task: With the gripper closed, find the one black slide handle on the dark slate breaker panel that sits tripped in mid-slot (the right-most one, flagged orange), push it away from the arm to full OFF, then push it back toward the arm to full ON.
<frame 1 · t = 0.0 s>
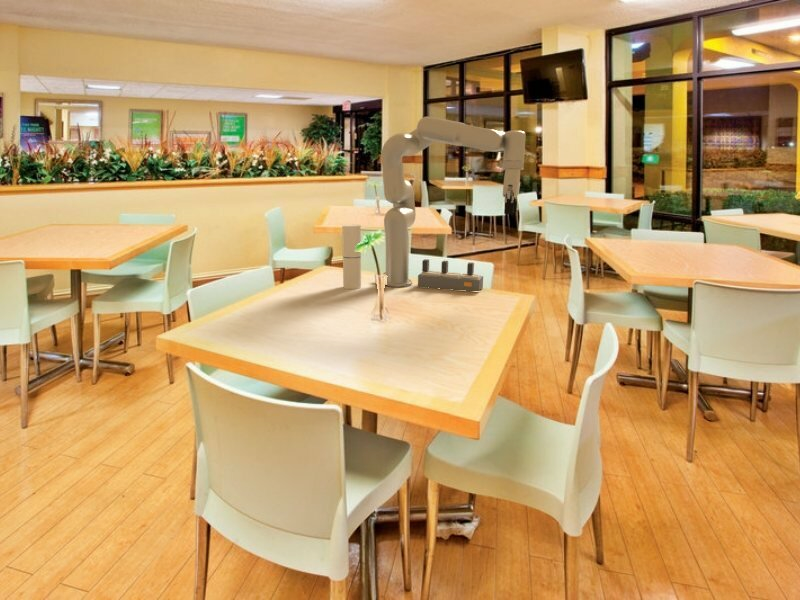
hand: (510, 212, 205), 31 cm above the table, fingers open, 9 cm apart
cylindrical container: (352, 287, 220), on the table
tripped breaker: (470, 268, 216), point 9 cm above the table, slide at 0.0 cm
breaker panel: (450, 287, 221), on the table
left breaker: (425, 265, 222), point 9 cm above the table, slide at -2.5 cm
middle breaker: (444, 266, 219), point 9 cm above the table, slide at -2.5 cm
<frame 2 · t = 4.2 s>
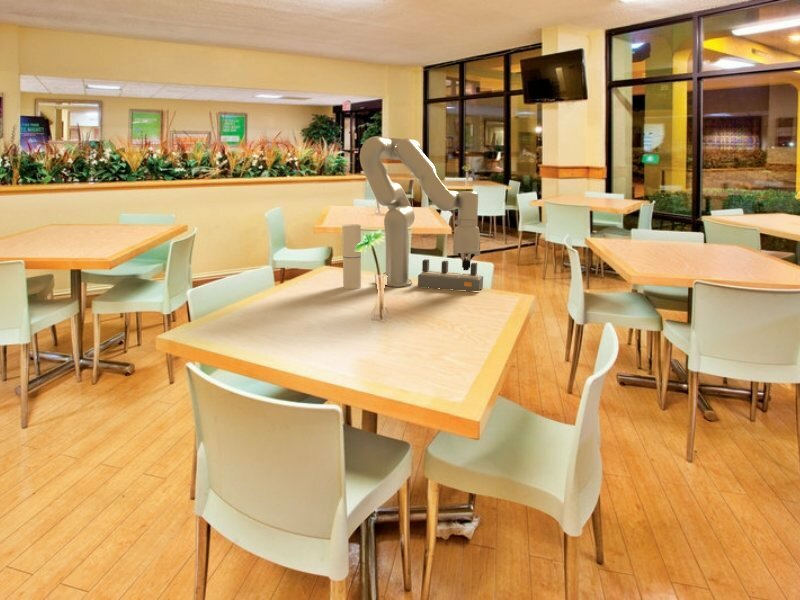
hand: (466, 269, 217), 8 cm above the table, fingers closed
tripped breaker: (473, 268, 216), point 9 cm above the table, slide at 1.3 cm, touching gripper
everything else where it was.
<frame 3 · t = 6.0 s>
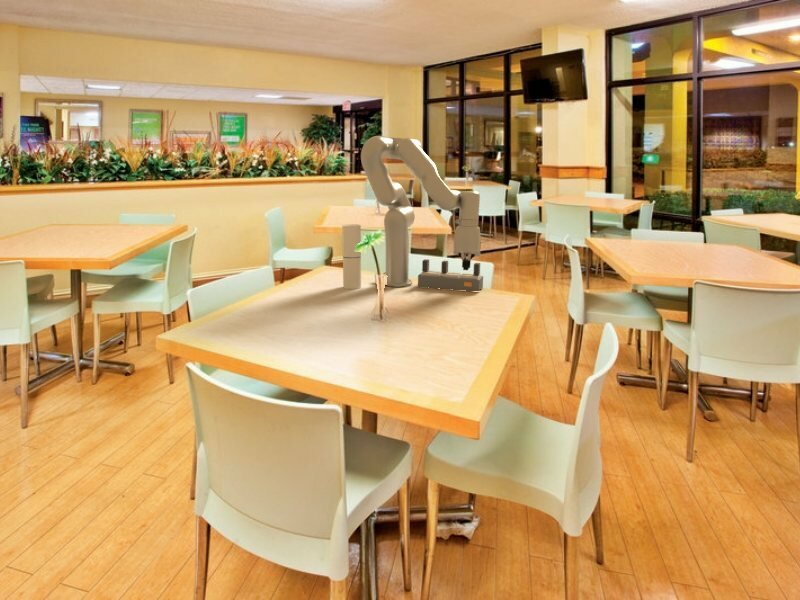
hand: (465, 269, 217), 8 cm above the table, fingers closed
tripped breaker: (476, 269, 215), point 9 cm above the table, slide at 2.6 cm
everything else where it was.
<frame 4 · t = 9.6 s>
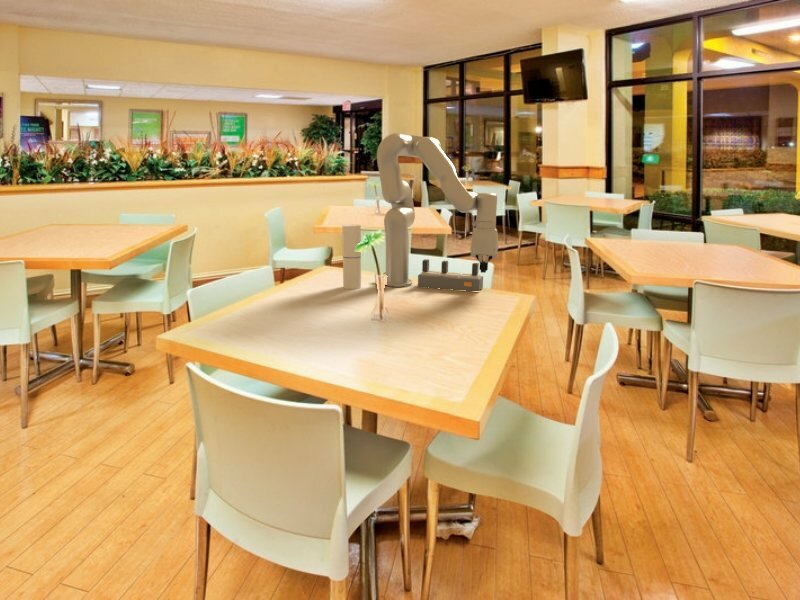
hand: (483, 271, 215), 8 cm above the table, fingers closed
tripped breaker: (475, 269, 216), point 9 cm above the table, slide at 1.9 cm, touching gripper
everything else where it was.
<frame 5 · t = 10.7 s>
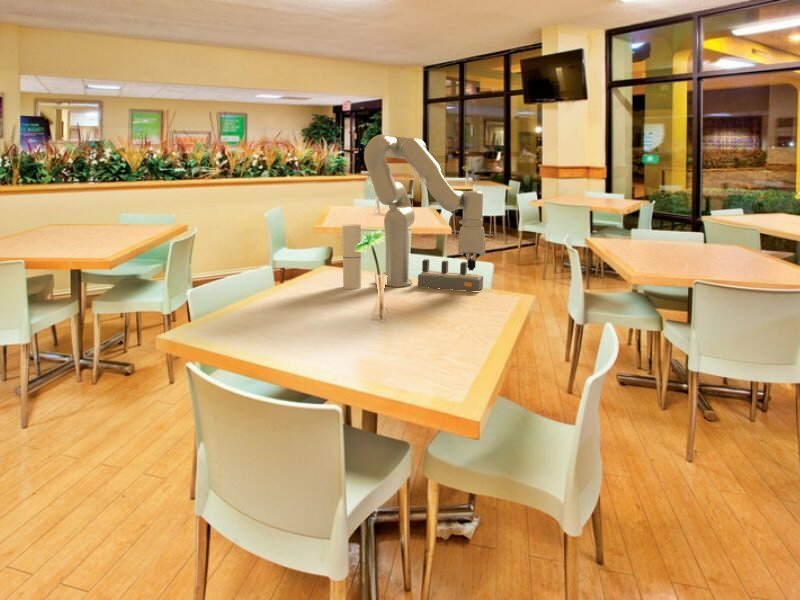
hand: (471, 269, 216), 8 cm above the table, fingers closed
tripped breaker: (463, 268, 217), point 9 cm above the table, slide at -2.8 cm, touching gripper
everything else where it was.
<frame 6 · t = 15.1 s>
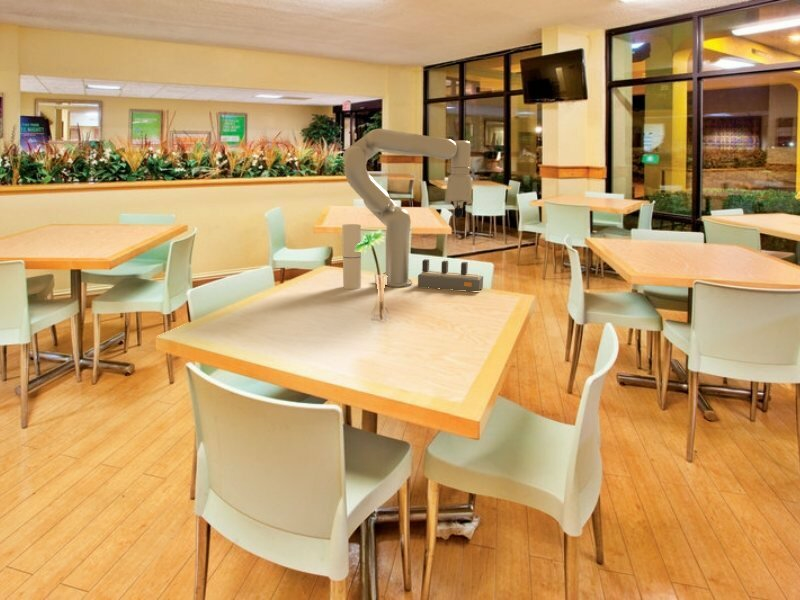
hand: (458, 217, 226), 27 cm above the table, fingers closed
tripped breaker: (464, 268, 217), point 9 cm above the table, slide at -2.6 cm
everything else where it was.
at the end: tripped breaker slide at -2.6 cm; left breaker slide at -2.5 cm; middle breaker slide at -2.5 cm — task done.
